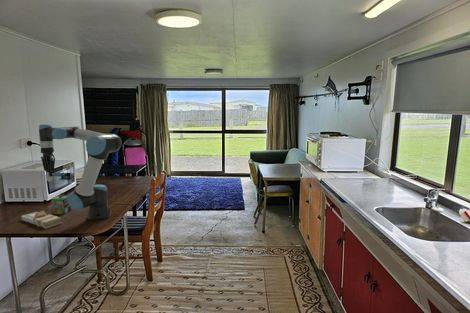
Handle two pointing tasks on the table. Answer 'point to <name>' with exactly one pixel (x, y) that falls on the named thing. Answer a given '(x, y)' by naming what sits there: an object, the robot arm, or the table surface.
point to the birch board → (47, 221)
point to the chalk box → (60, 205)
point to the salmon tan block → (40, 214)
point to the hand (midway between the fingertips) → (49, 180)
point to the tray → (27, 219)
